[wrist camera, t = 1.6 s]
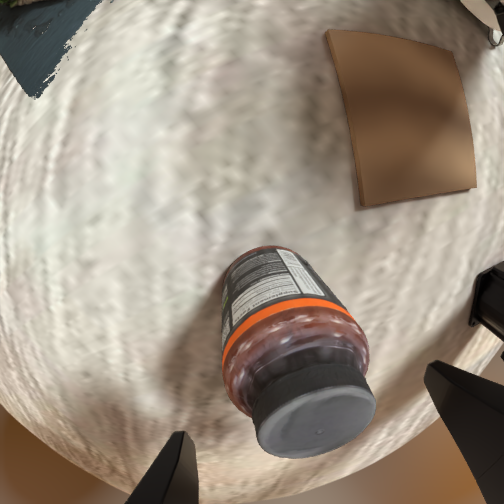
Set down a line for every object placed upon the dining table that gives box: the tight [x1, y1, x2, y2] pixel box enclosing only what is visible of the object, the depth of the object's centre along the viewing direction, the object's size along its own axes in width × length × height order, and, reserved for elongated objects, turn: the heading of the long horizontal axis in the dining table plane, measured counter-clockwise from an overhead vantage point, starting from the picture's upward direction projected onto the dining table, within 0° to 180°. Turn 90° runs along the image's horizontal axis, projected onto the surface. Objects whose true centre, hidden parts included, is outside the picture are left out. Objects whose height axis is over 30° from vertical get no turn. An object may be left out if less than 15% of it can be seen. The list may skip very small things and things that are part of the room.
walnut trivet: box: [325, 29, 477, 207], centre depth 15 cm, size 12×12×1 cm
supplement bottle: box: [222, 246, 376, 459], centre depth 12 cm, size 6×6×11 cm
